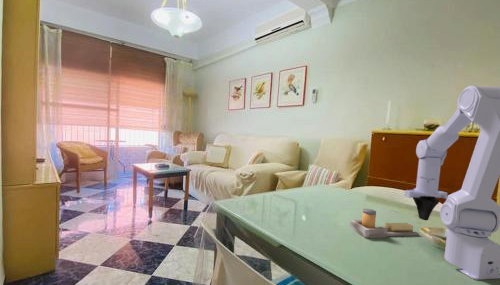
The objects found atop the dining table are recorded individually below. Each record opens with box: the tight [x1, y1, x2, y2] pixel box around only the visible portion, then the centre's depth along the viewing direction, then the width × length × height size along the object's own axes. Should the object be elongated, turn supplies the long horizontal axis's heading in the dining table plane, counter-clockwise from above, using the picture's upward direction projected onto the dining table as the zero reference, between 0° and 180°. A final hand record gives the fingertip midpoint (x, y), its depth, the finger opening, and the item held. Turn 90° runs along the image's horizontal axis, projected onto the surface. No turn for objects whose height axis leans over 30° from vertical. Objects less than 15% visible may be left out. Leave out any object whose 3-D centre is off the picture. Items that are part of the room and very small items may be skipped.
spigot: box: [361, 208, 377, 228], centre depth 73 cm, size 4×4×7 cm
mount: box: [349, 219, 420, 239], centre depth 75 cm, size 8×21×3 cm, turn 101°
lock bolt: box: [384, 222, 414, 232], centre depth 76 cm, size 2×8×2 cm, turn 101°
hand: (423, 219), depth 77 cm, fingers closed
